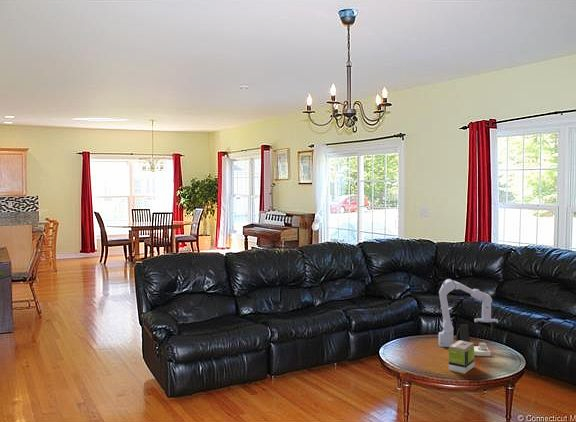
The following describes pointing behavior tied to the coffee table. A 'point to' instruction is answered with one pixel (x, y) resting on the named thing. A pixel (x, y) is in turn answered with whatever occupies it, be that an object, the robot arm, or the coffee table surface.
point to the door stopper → (463, 333)
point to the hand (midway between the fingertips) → (485, 333)
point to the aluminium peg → (483, 346)
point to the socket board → (481, 352)
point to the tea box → (461, 356)
